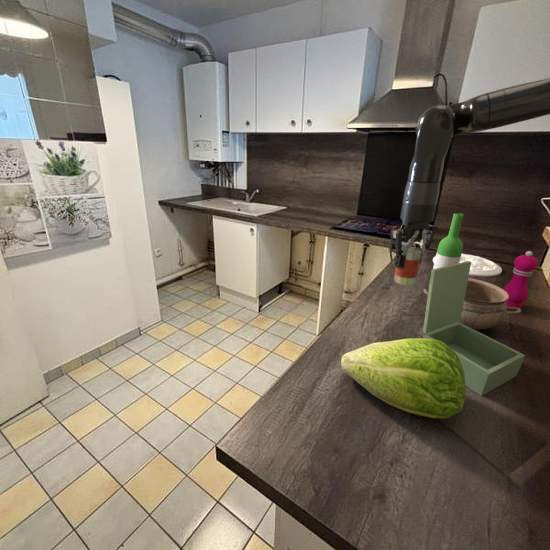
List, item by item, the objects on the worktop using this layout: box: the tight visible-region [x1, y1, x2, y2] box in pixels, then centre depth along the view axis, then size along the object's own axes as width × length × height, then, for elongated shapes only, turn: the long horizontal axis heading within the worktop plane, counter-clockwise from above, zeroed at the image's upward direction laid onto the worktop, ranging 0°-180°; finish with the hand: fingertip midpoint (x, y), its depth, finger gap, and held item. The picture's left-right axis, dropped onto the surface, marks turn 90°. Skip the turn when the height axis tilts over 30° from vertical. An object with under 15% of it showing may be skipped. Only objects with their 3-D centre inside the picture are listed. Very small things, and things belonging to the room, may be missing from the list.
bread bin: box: [422, 322, 526, 396], centre depth 71 cm, size 16×14×7 cm
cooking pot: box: [423, 277, 522, 331], centre depth 89 cm, size 25×19×12 cm
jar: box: [393, 246, 422, 286], centre depth 77 cm, size 6×6×9 cm
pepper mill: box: [502, 250, 539, 310], centre depth 98 cm, size 7×7×20 cm
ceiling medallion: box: [432, 253, 503, 278], centre depth 138 cm, size 28×28×3 cm
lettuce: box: [340, 337, 467, 420], centre depth 63 cm, size 15×24×16 cm
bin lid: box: [422, 261, 471, 335], centre depth 74 cm, size 17×14×1 cm
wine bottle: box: [428, 212, 464, 286], centre depth 106 cm, size 8×8×30 cm
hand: (407, 265), depth 77 cm, fingers closed on jar, 5 cm apart
